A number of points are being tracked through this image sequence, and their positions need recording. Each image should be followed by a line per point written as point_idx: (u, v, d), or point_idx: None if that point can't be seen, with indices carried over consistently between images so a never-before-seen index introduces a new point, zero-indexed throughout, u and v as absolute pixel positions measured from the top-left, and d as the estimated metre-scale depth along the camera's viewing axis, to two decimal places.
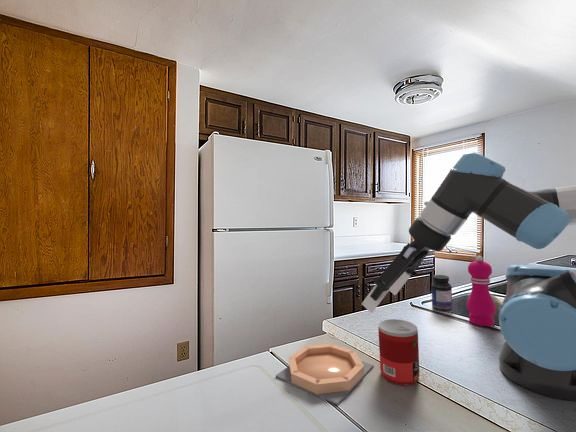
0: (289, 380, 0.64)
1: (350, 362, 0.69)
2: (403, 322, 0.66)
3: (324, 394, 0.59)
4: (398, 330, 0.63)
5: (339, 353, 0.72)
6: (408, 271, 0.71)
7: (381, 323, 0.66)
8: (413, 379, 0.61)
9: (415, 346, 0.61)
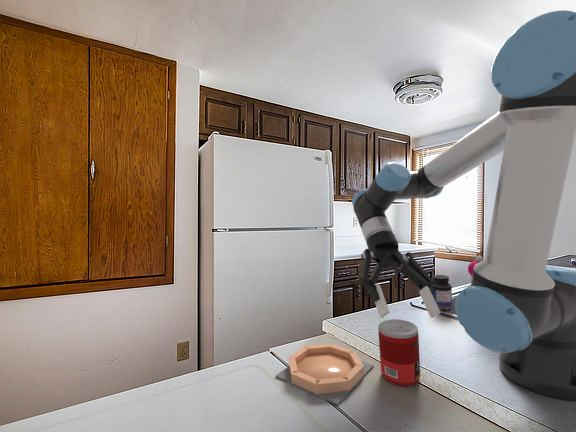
0: (289, 380, 0.64)
1: (350, 362, 0.69)
2: (402, 322, 0.65)
3: (324, 394, 0.59)
4: (399, 331, 0.62)
5: (339, 353, 0.72)
6: (424, 286, 0.72)
7: (380, 324, 0.65)
8: (415, 379, 0.61)
9: (416, 346, 0.60)
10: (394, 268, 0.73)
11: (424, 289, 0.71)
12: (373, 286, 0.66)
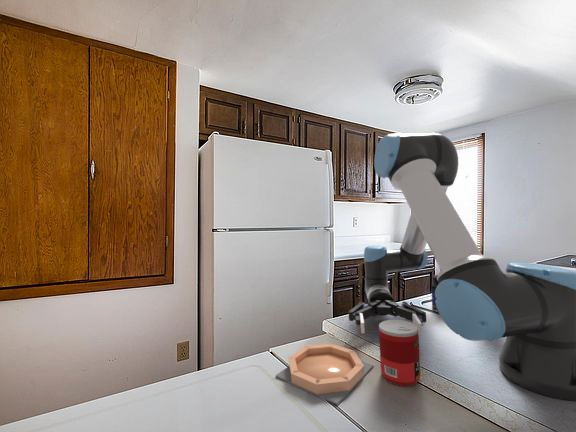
0: (289, 380, 0.64)
1: (350, 362, 0.69)
2: (403, 322, 0.66)
3: (324, 394, 0.59)
4: (399, 330, 0.62)
5: (339, 353, 0.72)
6: None
7: (381, 324, 0.65)
8: (415, 379, 0.61)
9: (416, 345, 0.61)
10: (387, 311, 0.85)
11: (412, 317, 0.78)
12: (357, 315, 0.81)
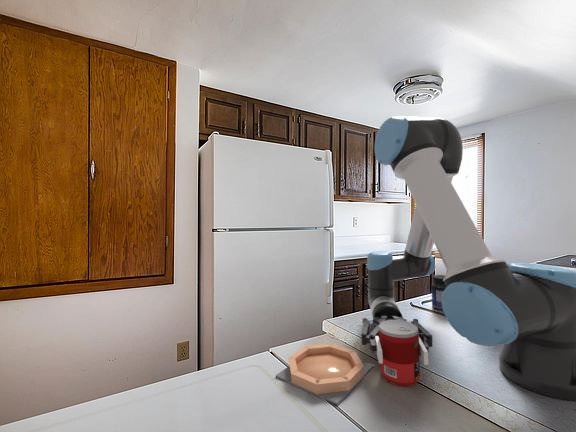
0: (289, 380, 0.64)
1: (350, 362, 0.69)
2: (403, 322, 0.66)
3: (324, 394, 0.59)
4: (399, 331, 0.62)
5: (339, 353, 0.72)
6: None
7: (381, 324, 0.65)
8: (414, 380, 0.61)
9: (416, 346, 0.61)
10: None
11: None
12: (372, 339, 0.67)
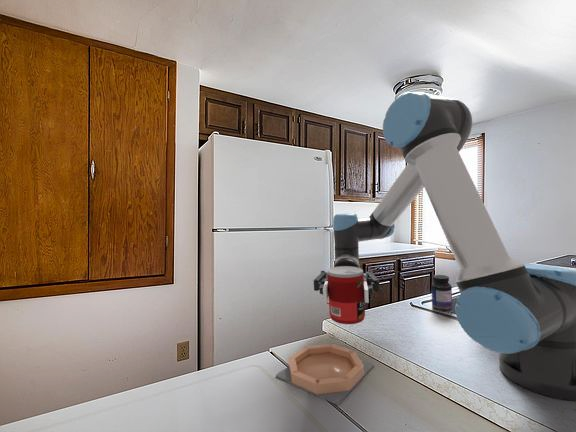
0: (289, 380, 0.64)
1: (350, 362, 0.69)
2: (352, 268, 0.69)
3: (324, 394, 0.59)
4: (344, 273, 0.65)
5: (339, 353, 0.72)
6: None
7: (330, 269, 0.68)
8: (357, 318, 0.64)
9: (360, 287, 0.64)
10: None
11: None
12: (322, 284, 0.70)
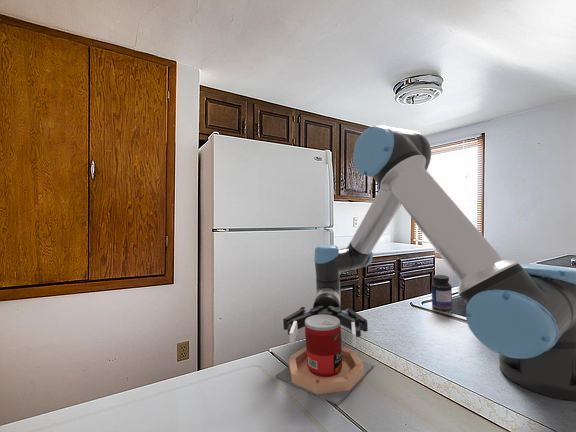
0: (289, 380, 0.64)
1: (350, 362, 0.69)
2: (329, 317, 0.69)
3: (324, 394, 0.59)
4: (321, 324, 0.65)
5: None
6: (354, 325, 0.69)
7: (308, 318, 0.68)
8: (334, 371, 0.64)
9: (336, 339, 0.64)
10: None
11: (351, 325, 0.69)
12: (291, 323, 0.71)
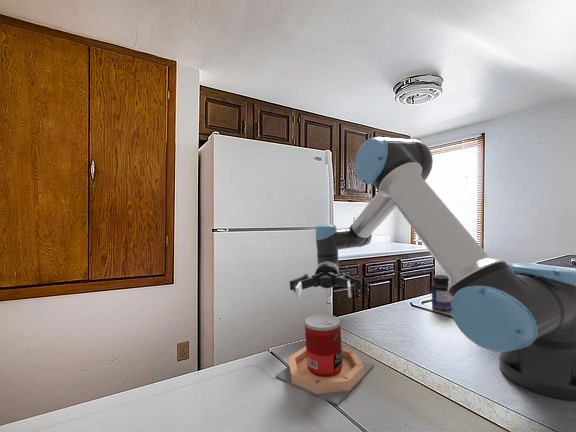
0: (289, 380, 0.64)
1: (350, 362, 0.69)
2: (329, 317, 0.69)
3: (324, 394, 0.59)
4: (321, 324, 0.65)
5: None
6: (350, 283, 0.82)
7: (308, 318, 0.68)
8: (334, 371, 0.64)
9: (336, 339, 0.64)
10: (328, 281, 0.89)
11: None
12: (297, 284, 0.85)
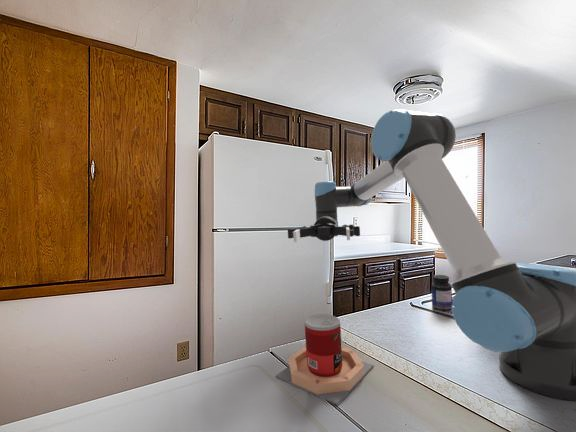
0: (289, 380, 0.64)
1: (350, 362, 0.69)
2: (329, 317, 0.69)
3: (324, 394, 0.59)
4: (321, 324, 0.65)
5: None
6: None
7: (308, 318, 0.68)
8: (334, 371, 0.64)
9: (336, 339, 0.64)
10: (326, 231, 0.87)
11: None
12: None
